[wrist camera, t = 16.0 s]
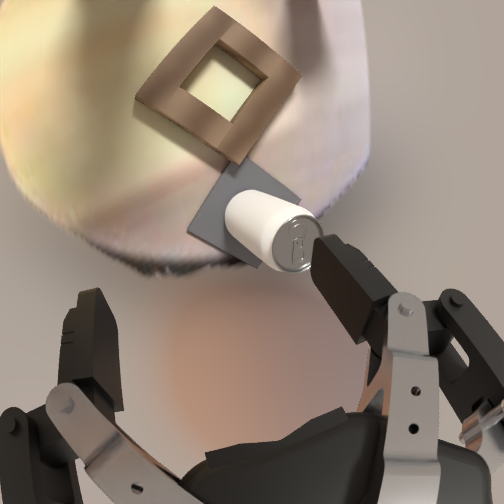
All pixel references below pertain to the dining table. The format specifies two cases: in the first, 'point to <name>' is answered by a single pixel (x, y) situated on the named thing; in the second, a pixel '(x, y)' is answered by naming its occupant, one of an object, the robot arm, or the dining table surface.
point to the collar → (200, 115)
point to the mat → (213, 208)
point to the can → (273, 230)
